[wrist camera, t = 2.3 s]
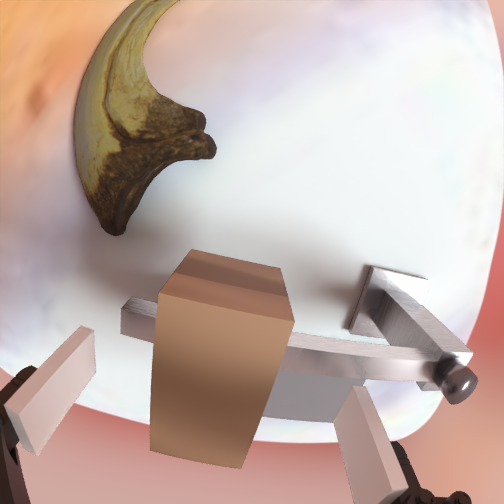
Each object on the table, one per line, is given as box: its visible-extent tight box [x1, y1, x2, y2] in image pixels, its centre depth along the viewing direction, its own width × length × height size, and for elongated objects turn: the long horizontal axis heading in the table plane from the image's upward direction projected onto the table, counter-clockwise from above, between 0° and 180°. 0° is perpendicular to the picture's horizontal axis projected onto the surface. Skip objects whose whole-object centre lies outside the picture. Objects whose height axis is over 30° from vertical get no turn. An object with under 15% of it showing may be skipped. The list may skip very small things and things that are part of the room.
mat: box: [262, 370, 366, 423], centre depth 22 cm, size 8×8×1 cm
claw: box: [74, 0, 217, 236], centre depth 15 cm, size 20×10×3 cm, turn 173°
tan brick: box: [150, 249, 295, 469], centre depth 15 cm, size 8×4×11 cm, turn 167°
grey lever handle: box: [121, 266, 478, 404], centre depth 15 cm, size 18×5×10 cm, turn 77°
